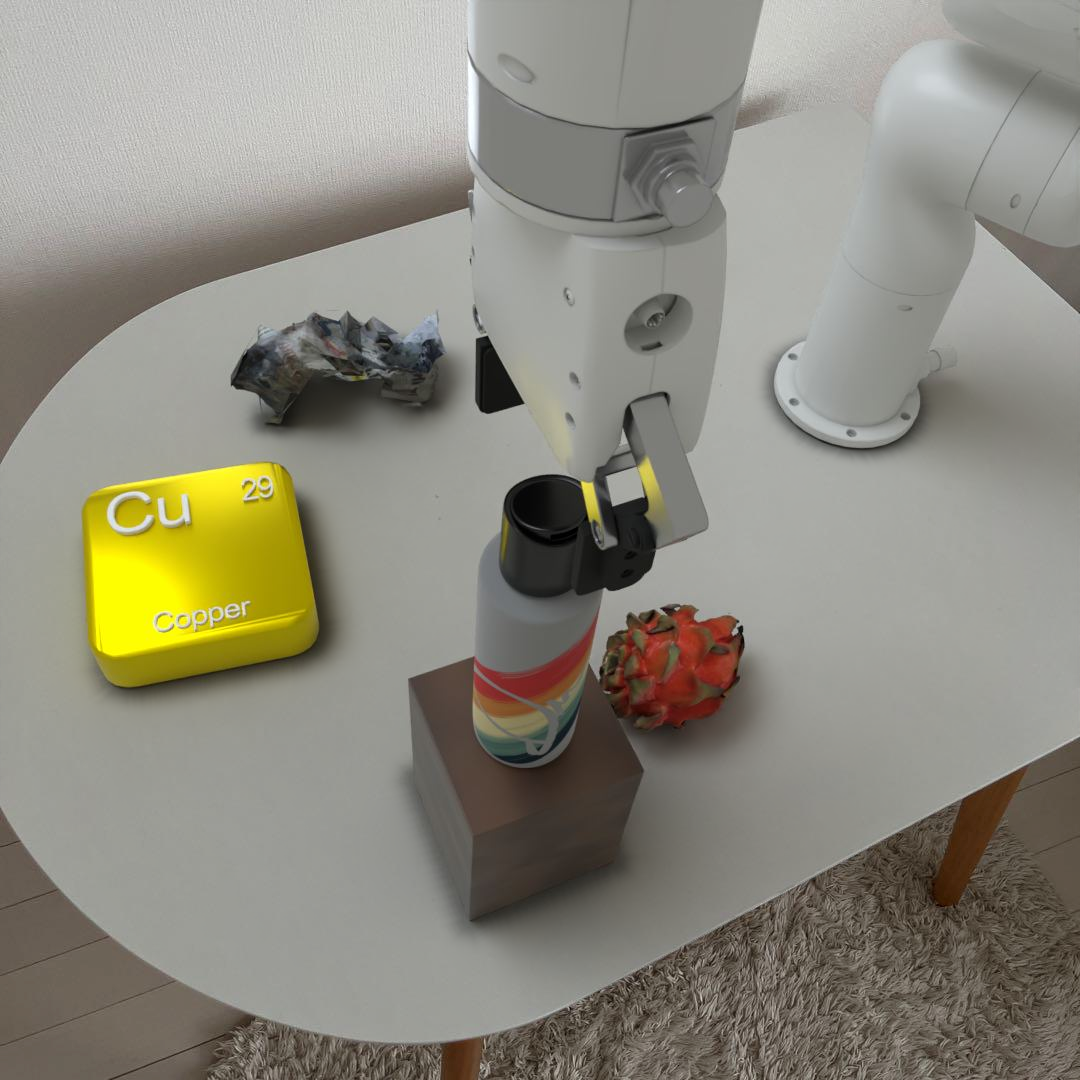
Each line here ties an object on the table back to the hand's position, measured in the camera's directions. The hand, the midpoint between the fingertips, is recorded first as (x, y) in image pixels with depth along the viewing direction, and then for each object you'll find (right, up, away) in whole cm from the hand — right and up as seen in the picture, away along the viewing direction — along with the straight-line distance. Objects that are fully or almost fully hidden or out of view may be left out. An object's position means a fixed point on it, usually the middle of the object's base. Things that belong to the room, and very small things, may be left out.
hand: (558, 485), depth 45 cm
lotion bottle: (-2, -12, +17) cm, 21 cm away
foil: (-17, +10, +49) cm, 53 cm away
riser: (-3, -21, +28) cm, 35 cm away
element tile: (-25, -6, +37) cm, 45 cm away
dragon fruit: (+8, -13, +34) cm, 38 cm away
